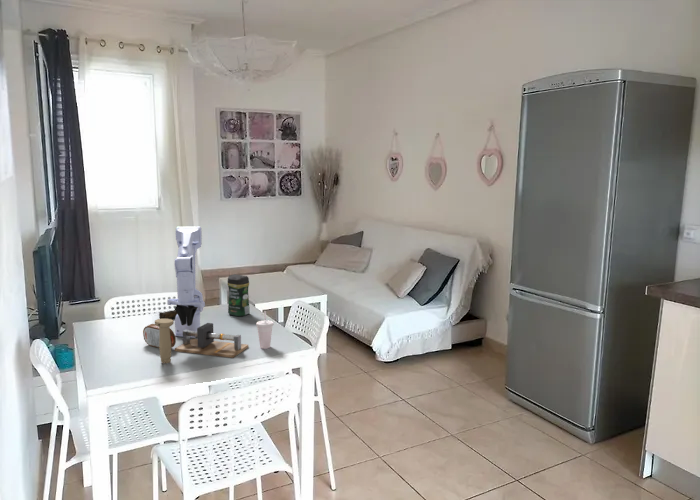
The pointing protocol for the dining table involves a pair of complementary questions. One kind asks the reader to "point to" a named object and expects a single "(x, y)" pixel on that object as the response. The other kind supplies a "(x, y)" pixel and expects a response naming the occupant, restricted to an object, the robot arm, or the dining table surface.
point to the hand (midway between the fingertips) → (186, 324)
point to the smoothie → (264, 332)
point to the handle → (164, 339)
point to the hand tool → (167, 314)
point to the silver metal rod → (214, 336)
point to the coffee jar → (238, 295)
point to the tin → (155, 336)
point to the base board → (212, 348)
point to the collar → (204, 335)
